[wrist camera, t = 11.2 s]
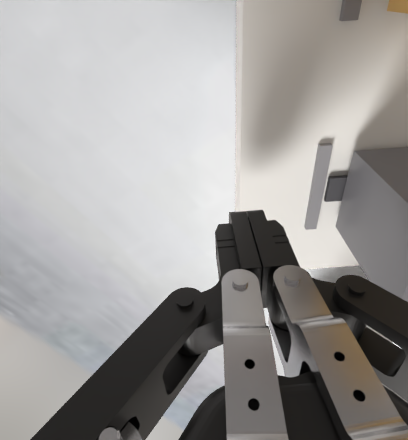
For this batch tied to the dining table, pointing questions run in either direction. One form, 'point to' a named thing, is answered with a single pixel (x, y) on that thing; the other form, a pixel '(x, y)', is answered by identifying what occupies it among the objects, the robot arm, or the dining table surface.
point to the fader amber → (398, 6)
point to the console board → (314, 110)
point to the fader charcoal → (378, 216)
